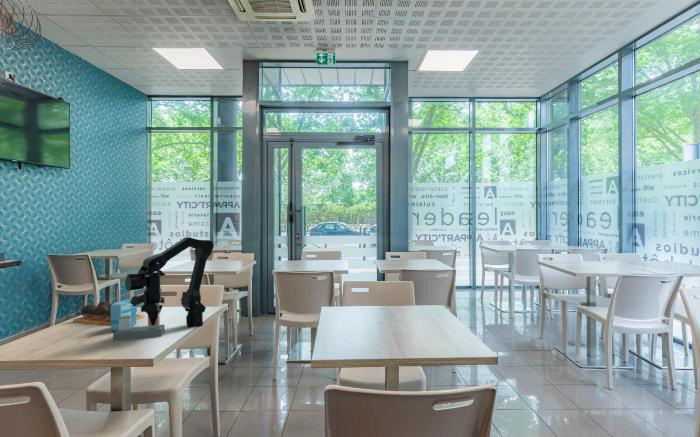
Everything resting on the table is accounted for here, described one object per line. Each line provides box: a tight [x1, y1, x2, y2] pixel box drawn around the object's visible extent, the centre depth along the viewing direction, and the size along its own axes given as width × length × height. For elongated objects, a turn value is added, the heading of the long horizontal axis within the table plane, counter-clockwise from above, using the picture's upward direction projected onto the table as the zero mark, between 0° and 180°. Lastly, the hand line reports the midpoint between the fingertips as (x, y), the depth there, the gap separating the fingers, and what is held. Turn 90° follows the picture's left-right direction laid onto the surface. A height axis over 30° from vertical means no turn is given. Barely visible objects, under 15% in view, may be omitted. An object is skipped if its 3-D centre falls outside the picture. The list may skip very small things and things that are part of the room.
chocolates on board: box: [72, 300, 145, 326], centre depth 209 cm, size 28×17×8 cm, turn 69°
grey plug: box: [118, 315, 131, 331], centre depth 176 cm, size 4×3×8 cm
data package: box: [110, 299, 137, 332], centre depth 191 cm, size 12×4×12 cm, turn 175°
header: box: [112, 324, 165, 341], centre depth 177 cm, size 18×8×3 cm, turn 105°
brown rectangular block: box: [146, 311, 161, 329], centre depth 179 cm, size 4×3×8 cm
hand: (153, 324), depth 179 cm, fingers closed on brown rectangular block, 3 cm apart
